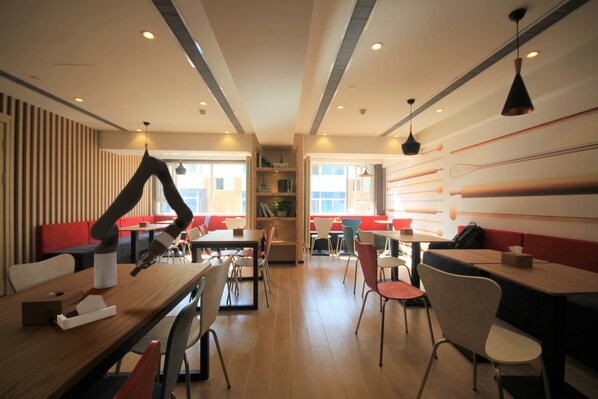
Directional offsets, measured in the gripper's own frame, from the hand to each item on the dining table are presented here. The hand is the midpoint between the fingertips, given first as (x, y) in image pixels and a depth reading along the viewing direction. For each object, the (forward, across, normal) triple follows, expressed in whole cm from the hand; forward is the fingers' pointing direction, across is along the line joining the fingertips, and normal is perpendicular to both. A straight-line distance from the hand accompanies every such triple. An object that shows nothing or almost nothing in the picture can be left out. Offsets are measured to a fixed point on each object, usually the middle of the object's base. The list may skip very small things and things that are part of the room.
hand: (131, 275), depth 110 cm
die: (+19, +4, -2) cm, 19 cm away
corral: (+19, 0, -3) cm, 19 cm away
